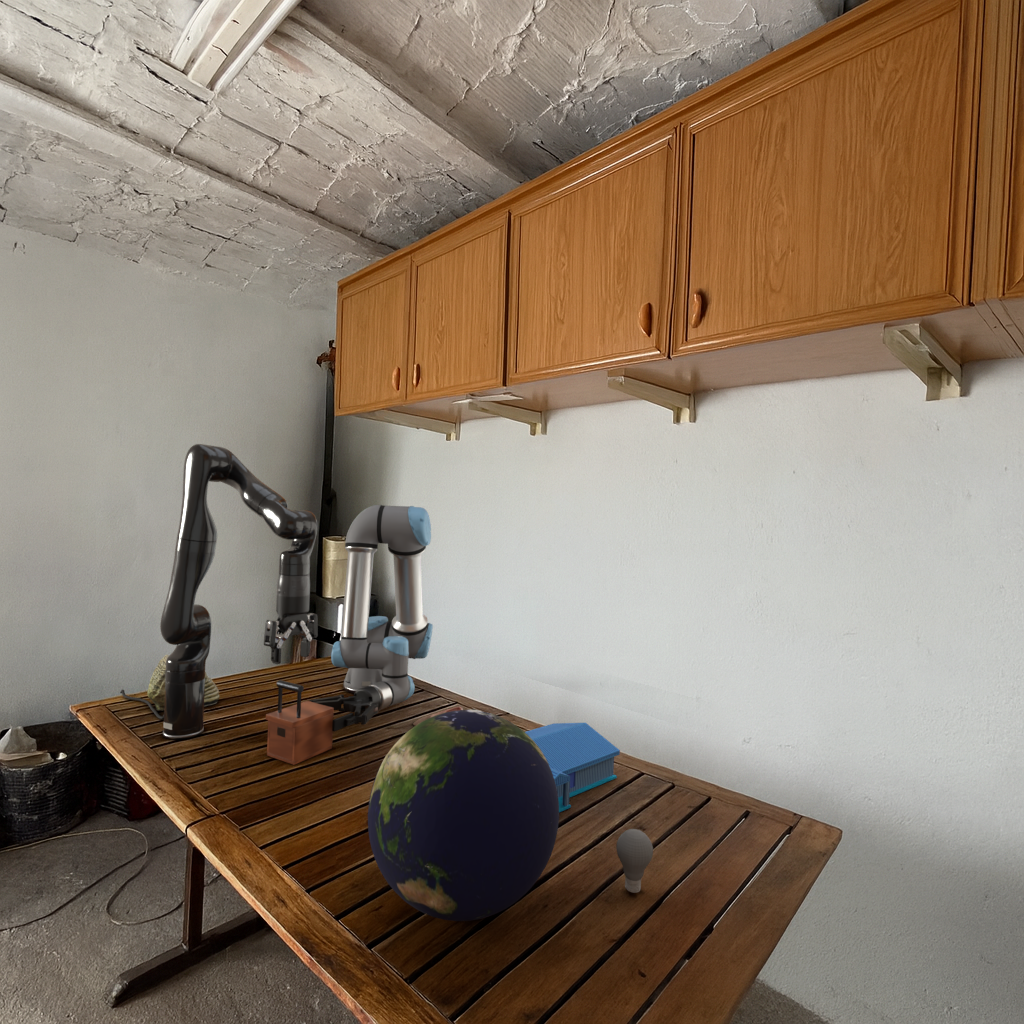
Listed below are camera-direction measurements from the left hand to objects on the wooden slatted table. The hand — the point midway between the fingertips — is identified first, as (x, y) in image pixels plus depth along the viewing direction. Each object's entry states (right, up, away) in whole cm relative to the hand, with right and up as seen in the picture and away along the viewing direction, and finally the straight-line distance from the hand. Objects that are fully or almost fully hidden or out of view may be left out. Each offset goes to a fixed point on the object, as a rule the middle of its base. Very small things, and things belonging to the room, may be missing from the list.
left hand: (290, 659), depth 152 cm
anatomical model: (+32, -25, +27) cm, 49 cm away
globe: (+45, -27, -52) cm, 74 cm away
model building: (+58, -26, -10) cm, 64 cm away
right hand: (+3, -17, +7) cm, 19 cm away
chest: (+1, -24, +4) cm, 24 cm away
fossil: (-43, -21, +32) cm, 58 cm away
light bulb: (+73, -28, -47) cm, 91 cm away
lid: (+1, -15, +3) cm, 15 cm away
